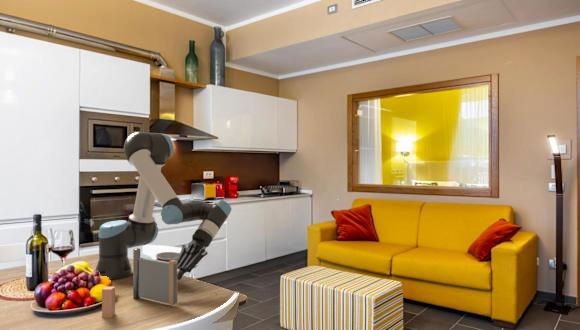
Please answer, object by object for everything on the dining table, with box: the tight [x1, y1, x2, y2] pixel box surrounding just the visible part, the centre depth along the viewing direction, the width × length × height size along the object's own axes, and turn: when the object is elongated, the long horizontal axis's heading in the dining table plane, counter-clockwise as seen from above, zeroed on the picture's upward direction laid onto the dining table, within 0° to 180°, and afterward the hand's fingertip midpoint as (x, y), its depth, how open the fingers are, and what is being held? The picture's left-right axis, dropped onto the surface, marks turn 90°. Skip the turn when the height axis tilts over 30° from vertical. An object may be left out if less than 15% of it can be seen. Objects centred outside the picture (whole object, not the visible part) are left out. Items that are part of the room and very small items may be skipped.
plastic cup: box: [155, 251, 180, 262], centre depth 165 cm, size 11×11×12 cm
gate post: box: [132, 248, 141, 300], centre depth 147 cm, size 2×2×18 cm
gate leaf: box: [139, 257, 178, 306], centre depth 142 cm, size 17×2×15 cm, turn 62°
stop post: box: [101, 286, 116, 318], centre depth 131 cm, size 3×3×9 cm
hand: (169, 286), depth 145 cm, fingers closed
